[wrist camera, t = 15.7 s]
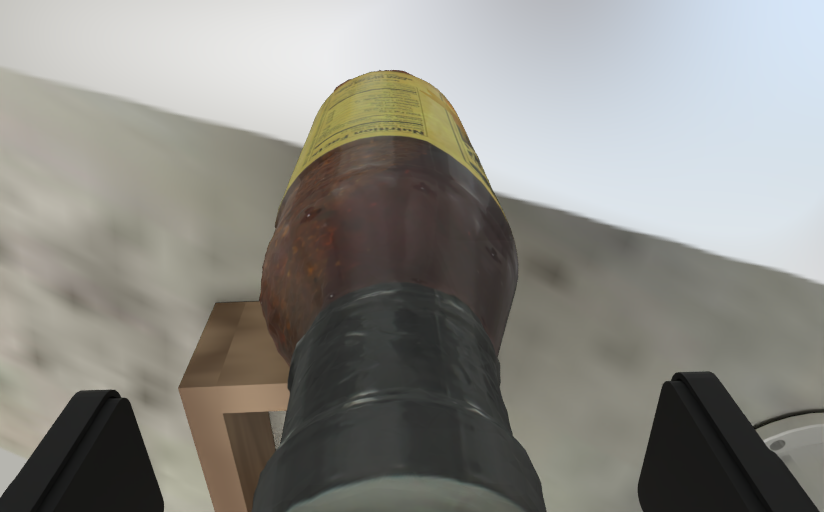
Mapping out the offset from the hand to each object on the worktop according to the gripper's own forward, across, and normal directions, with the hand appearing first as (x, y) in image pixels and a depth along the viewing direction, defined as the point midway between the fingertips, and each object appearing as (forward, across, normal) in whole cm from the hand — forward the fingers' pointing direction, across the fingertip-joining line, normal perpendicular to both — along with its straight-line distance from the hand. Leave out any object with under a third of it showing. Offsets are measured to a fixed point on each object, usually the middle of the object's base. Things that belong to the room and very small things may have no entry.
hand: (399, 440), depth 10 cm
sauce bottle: (+17, 0, -1) cm, 17 cm away
